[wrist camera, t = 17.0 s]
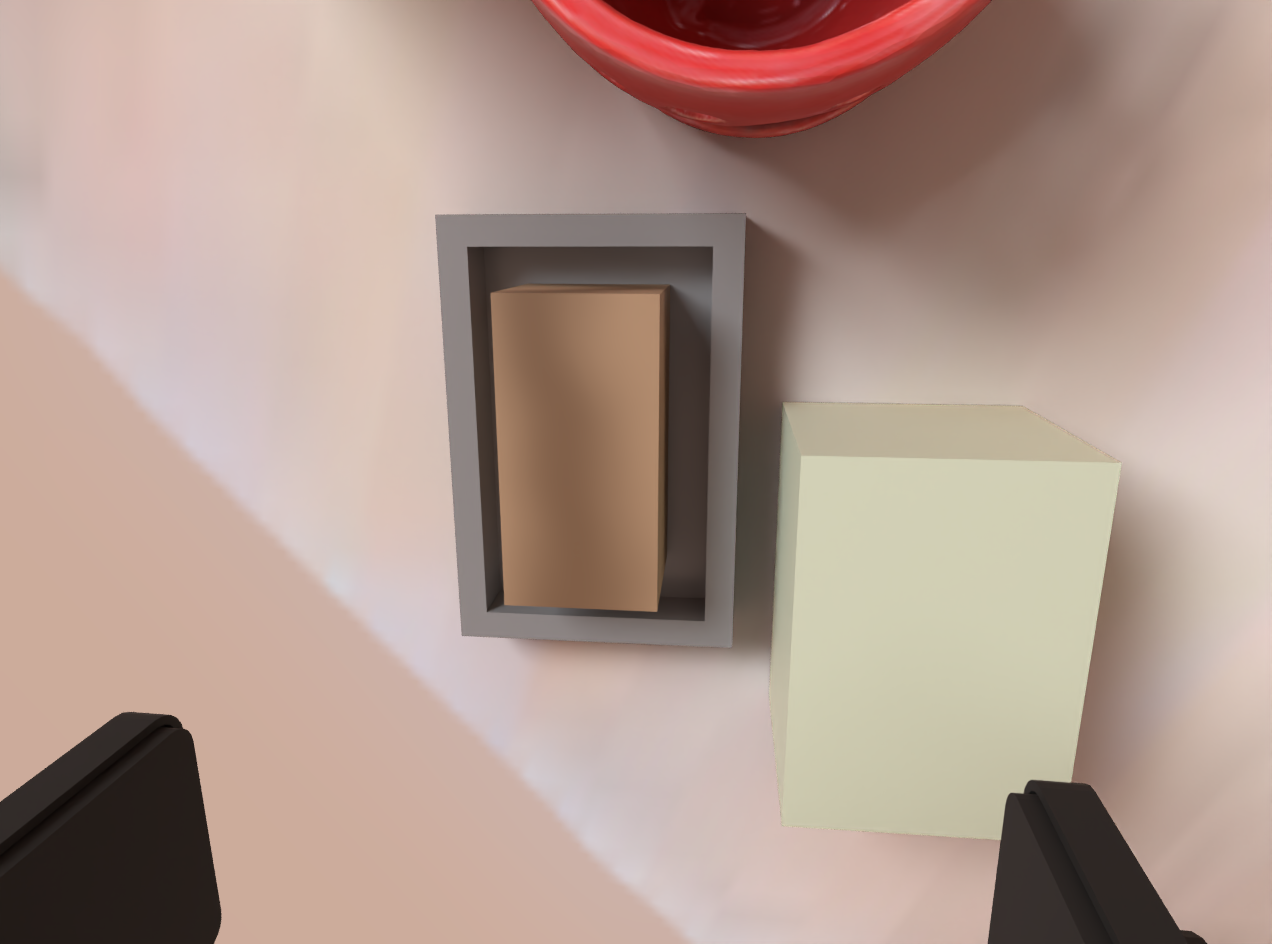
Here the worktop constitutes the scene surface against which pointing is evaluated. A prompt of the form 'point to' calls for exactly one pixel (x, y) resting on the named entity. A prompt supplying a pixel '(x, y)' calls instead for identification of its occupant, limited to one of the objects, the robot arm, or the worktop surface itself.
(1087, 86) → the worktop surface
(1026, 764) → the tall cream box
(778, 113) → the plant pot
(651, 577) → the block
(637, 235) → the tray
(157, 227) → the worktop surface
